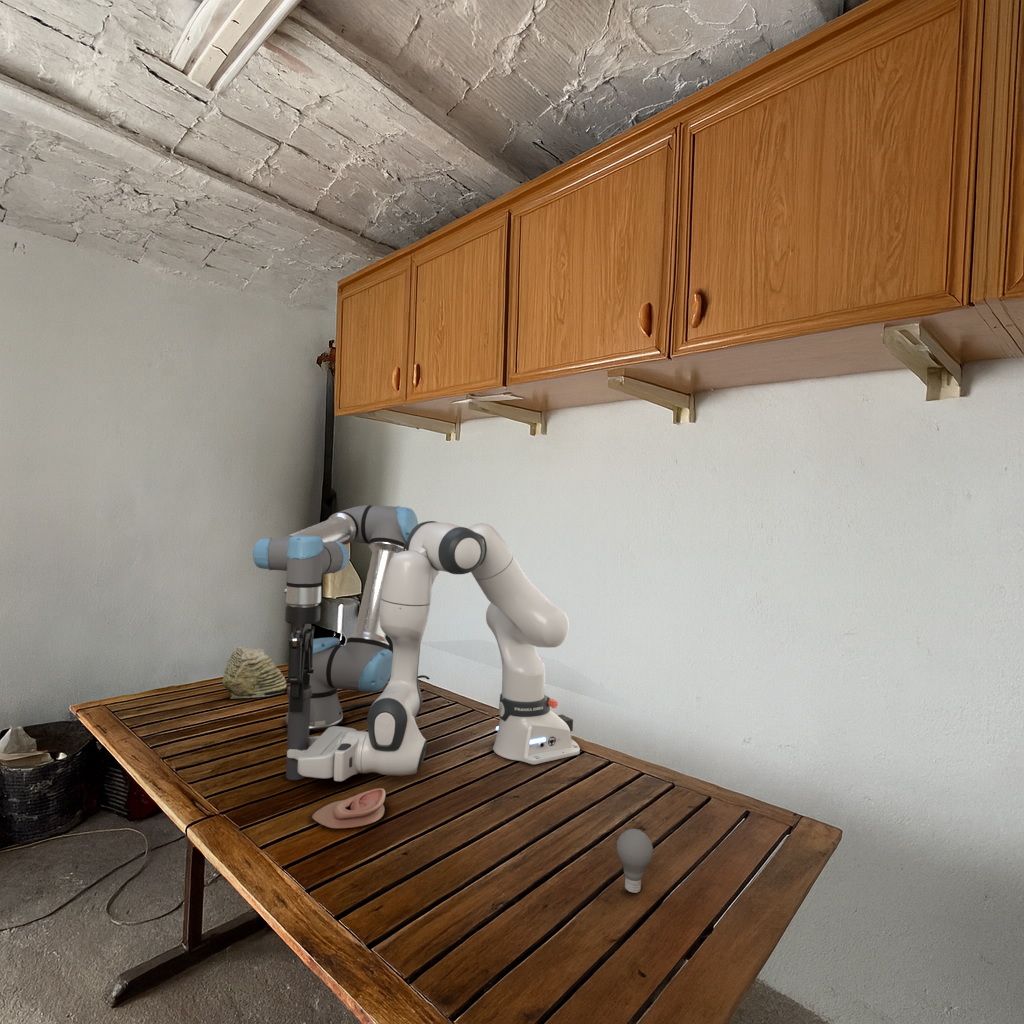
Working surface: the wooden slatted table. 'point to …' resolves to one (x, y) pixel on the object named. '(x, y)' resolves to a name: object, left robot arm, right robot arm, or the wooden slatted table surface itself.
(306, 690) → the lid
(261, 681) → the fossil
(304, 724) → the dark grey cylinder
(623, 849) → the light bulb
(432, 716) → the wooden slatted table surface
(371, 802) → the anatomical model
